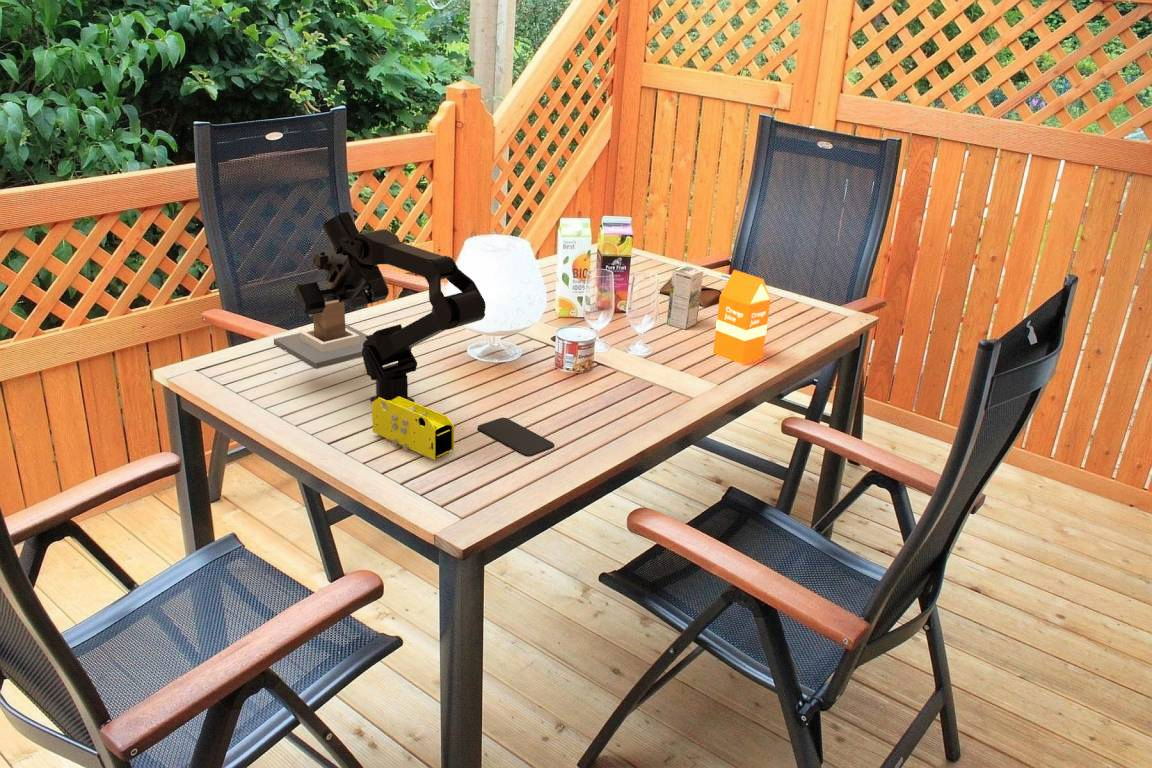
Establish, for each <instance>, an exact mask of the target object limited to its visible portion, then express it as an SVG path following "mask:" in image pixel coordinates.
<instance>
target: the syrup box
mask: <svg viewBox="0 0 1152 768" xmlns="http://www.w3.org/2000/svg"><path fill="white" fill-rule="evenodd" d="M671 275H672V276H671V277H672V282H671V290H670V296H669V302H668V307H667V308H668V310H667V317H666V318H667V319H666V325H668V326H671V327H675V328H678V329H683V330H688V329H690V328H692V327H694V326H696V325H697V323H698V317H699V309H700V308H699V307H700V306H699V302H700V294H701V286H703V284H702V283H703V278H704V277H703V275H704V271H703V270H701V269H698V268H696V267H692V266H686V265H685V266H681V267H679V268H677V269H674V270H672V274H671Z"/></svg>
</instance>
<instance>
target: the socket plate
mask: <svg viewBox="0 0 1152 768" xmlns="http://www.w3.org/2000/svg"><path fill="white" fill-rule="evenodd" d="M345 331H346V337H343V338H339V339H335V340H331V341H326V342H323V341H321V340H319V339H317V338H315V337H314V328H311V329H307V330H303V331H300V332H298V333H294V334H290V335H289V334H288V335H285V336H280V337H276V338H273V344H274V345H275V346H277V347H278V346H279V347H278V348H280V347H281V348H280V349H282V350H284V351H285V350H286V351H285V352H287V351H288V352H287V353H289V354H290V353H291V354H290V355H292V354H293V355H292V356H294V357H295V356H296V358H297V359H299V360H301V361H302V360H303V361H302V362H304V363H305V364H307V363H308V364H307V365H308V366H309V365H310V366H311V367H312V368H314V369H319V368H324V367H327V366H330V365H335V364H338V363H342V362H346V361H350V360H354V359H358V358H363V356H362V349H363V343H364V342H365V341H366V340H367V338H366V336H369V335H368V334H366V333H364V332H362V331H360V330H358V329H356V328H354V327H352V326H350V325H348V324H346V323H345Z"/></svg>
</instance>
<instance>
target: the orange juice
mask: <svg viewBox="0 0 1152 768" xmlns="http://www.w3.org/2000/svg"><path fill="white" fill-rule="evenodd" d="M764 280H765V279H764V278H761V277H758V276H755V275H752V274H748V273H746V272H743V271H739V270H736V269H733V270H732V273H731V274H730V276H729V279H728V280H727V282H726V284H725V285H724V288H723V289H722V291H721V292H722V293H721V295H720V300H719V304H718V309H717V318H716V325H715V332H714V333H715V336H714V341H713V343H714V344H713V352H712V354H713V353H714V354H713V355H715V354H716V355H715V356H717V355H719V356H718V357H720V356H722V357H725V358H728V359H730V360H733V361H735V362H738V363H741V364H743V363H746V362H749V361H754V360H756V359H760V358H762V359H763V357H764V349H765V341H766V335H767V328H768V319H769V313H770V305H771V298H770V297H771V296H770V295H769V292H768V289H767V286H766V284H765V281H764ZM722 357H721V358H722ZM725 358H724V359H725ZM730 360H729V361H730ZM760 360H761V359H760ZM754 362H755V361H754Z"/></svg>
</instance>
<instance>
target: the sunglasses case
mask: <svg viewBox="0 0 1152 768" xmlns="http://www.w3.org/2000/svg"><path fill="white" fill-rule="evenodd" d="M671 282H672V276H671V277H670V279H669V280H668V281H667V282H665V283H664V284H663V286H661V288H659V290H660V295H664V296H667V297H670V290H671ZM721 293H722V291H721V290H719V289H716V288H713V287H708V286H704V285H702V286H701V294H700V302H699V307H702V308H705V309H707V308H709V307H713V306H715V305H719V300H720V295H721Z"/></svg>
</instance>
